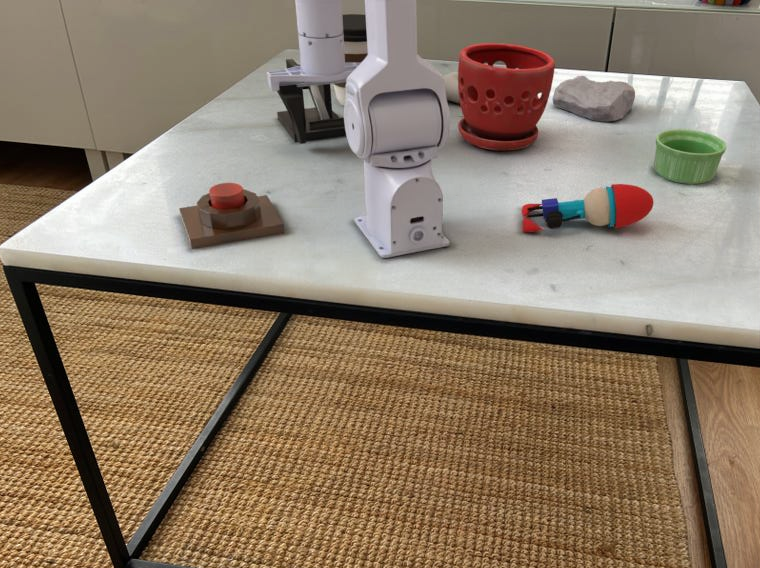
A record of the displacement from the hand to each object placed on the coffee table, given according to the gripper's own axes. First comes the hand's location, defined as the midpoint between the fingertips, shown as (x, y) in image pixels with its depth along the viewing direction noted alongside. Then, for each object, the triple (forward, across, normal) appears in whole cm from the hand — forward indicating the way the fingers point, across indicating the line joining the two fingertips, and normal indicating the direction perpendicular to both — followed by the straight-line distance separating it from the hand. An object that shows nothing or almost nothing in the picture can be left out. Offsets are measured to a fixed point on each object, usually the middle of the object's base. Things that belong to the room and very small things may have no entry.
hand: (328, 137), depth 99 cm
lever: (-3, 0, -5) cm, 6 cm away
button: (-1, +17, +19) cm, 25 cm away
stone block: (+2, -44, -1) cm, 44 cm away
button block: (+1, +17, +19) cm, 25 cm away
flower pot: (+2, -24, +6) cm, 25 cm away
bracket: (+1, 0, -8) cm, 8 cm away
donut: (+2, -28, -13) cm, 31 cm away
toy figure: (+2, -21, +33) cm, 39 cm away
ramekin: (+2, -42, +25) cm, 49 cm away
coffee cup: (+2, -10, -17) cm, 20 cm away
